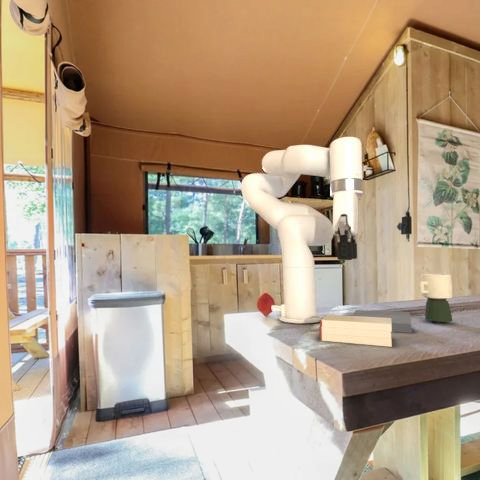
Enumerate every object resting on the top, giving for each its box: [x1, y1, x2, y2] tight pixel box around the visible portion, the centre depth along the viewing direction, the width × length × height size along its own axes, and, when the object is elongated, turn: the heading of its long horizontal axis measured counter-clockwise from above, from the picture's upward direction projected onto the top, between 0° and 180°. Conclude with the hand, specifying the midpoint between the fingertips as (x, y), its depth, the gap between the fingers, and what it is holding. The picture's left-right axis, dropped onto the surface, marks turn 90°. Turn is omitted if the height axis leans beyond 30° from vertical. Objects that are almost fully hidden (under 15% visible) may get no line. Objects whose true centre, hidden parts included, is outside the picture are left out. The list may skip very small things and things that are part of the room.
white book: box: [319, 314, 393, 333], centre depth 67 cm, size 14×7×2 cm, turn 64°
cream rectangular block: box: [318, 325, 393, 348], centre depth 67 cm, size 14×7×3 cm, turn 64°
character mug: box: [419, 273, 453, 324], centre depth 83 cm, size 11×7×13 cm, turn 107°
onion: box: [256, 290, 276, 317], centre depth 99 cm, size 6×6×8 cm
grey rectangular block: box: [353, 309, 413, 334], centre depth 77 cm, size 13×6×4 cm, turn 65°
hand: (347, 259), depth 74 cm, fingers open, 9 cm apart
